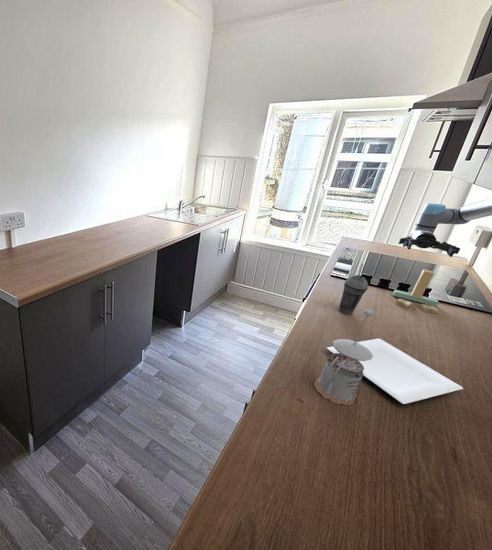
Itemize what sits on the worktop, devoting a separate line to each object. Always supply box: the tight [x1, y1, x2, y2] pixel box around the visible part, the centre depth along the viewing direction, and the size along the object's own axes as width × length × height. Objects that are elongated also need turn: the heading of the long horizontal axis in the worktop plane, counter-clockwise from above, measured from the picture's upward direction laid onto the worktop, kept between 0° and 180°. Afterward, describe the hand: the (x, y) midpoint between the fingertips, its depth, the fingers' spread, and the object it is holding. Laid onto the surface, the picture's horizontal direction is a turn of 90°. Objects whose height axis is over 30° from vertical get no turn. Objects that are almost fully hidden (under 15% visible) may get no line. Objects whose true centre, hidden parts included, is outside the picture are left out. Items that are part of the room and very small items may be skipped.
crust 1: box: [395, 298, 413, 309], centre depth 124 cm, size 4×4×2 cm
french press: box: [318, 309, 375, 401], centre depth 73 cm, size 10×12×25 cm
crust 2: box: [419, 303, 439, 315], centre depth 120 cm, size 4×4×2 cm
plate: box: [326, 338, 464, 405], centre depth 86 cm, size 22×22×2 cm
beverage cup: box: [338, 263, 369, 316], centre depth 113 cm, size 7×7×20 cm
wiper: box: [392, 268, 440, 308], centre depth 125 cm, size 14×3×14 cm, turn 53°
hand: (430, 250), depth 129 cm, fingers open, 13 cm apart
